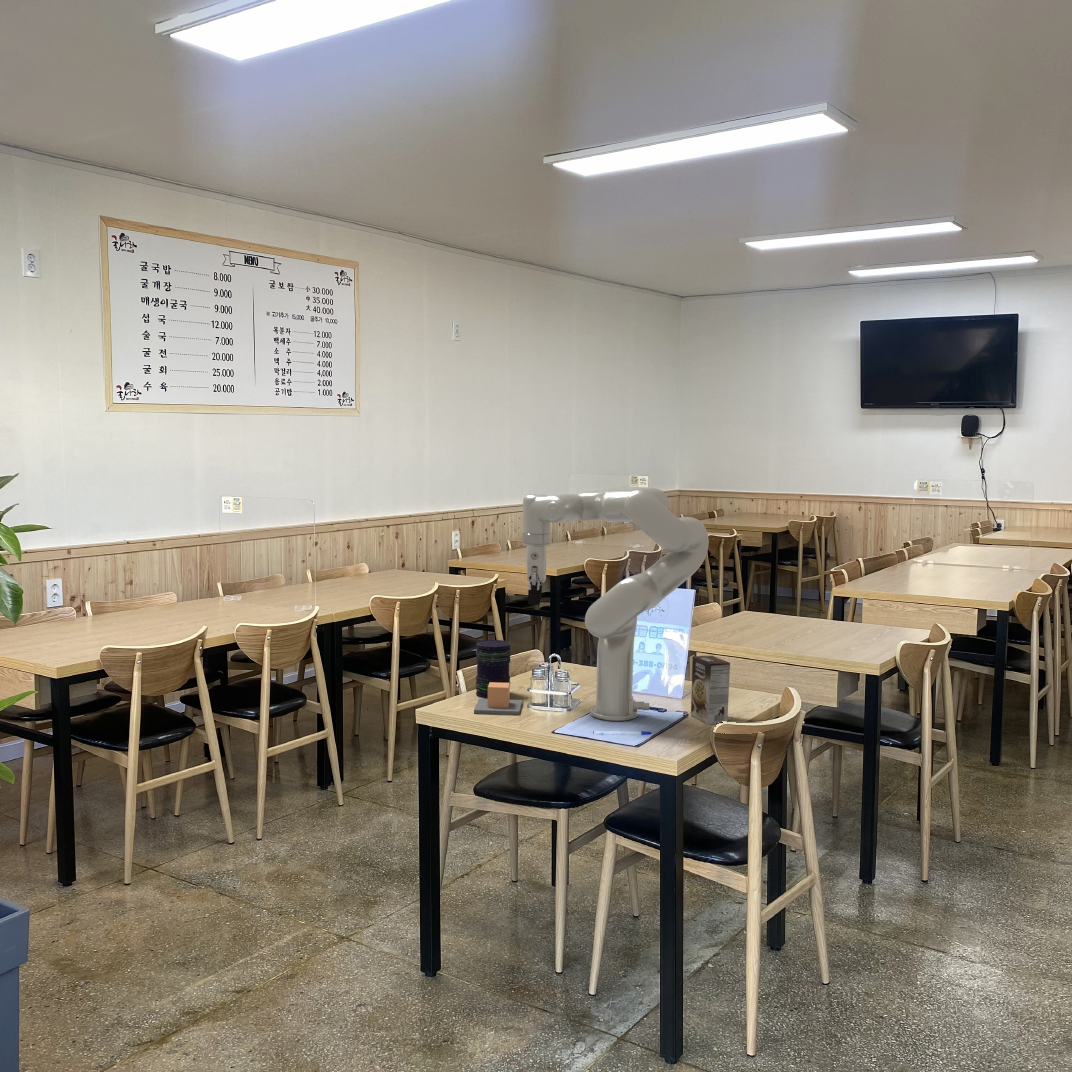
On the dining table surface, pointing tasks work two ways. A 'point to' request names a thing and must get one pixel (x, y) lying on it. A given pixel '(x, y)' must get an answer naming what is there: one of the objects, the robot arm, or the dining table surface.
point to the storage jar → (491, 664)
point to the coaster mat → (511, 710)
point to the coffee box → (710, 689)
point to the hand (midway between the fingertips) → (534, 601)
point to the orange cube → (498, 695)
